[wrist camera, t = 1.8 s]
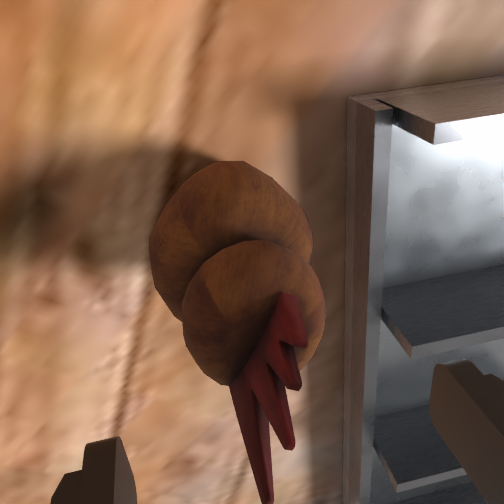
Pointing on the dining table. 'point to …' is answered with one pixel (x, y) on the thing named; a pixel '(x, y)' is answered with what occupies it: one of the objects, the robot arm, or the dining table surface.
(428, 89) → the grey shelf
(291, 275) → the wooden figurine
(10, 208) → the dining table surface
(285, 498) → the dining table surface
